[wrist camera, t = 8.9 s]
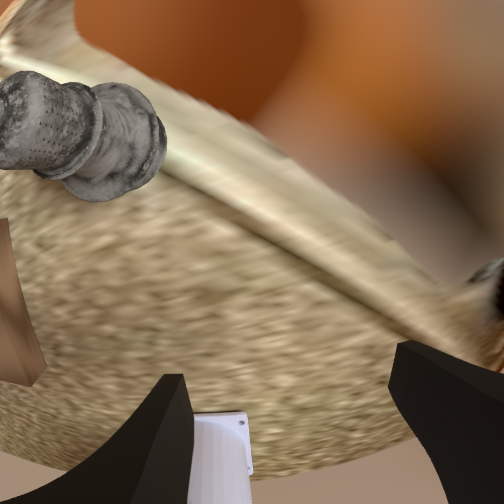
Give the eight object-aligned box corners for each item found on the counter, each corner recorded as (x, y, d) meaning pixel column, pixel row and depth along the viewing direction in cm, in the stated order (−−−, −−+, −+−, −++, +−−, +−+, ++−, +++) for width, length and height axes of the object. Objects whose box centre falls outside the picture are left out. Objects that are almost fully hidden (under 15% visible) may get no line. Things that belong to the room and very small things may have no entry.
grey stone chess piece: (193, 134, 15) (125, 39, 4) (132, 217, 16) (-11, 290, 4) (120, 83, 14) (0, -16, 2) (65, 162, 15) (-93, 165, 3)
